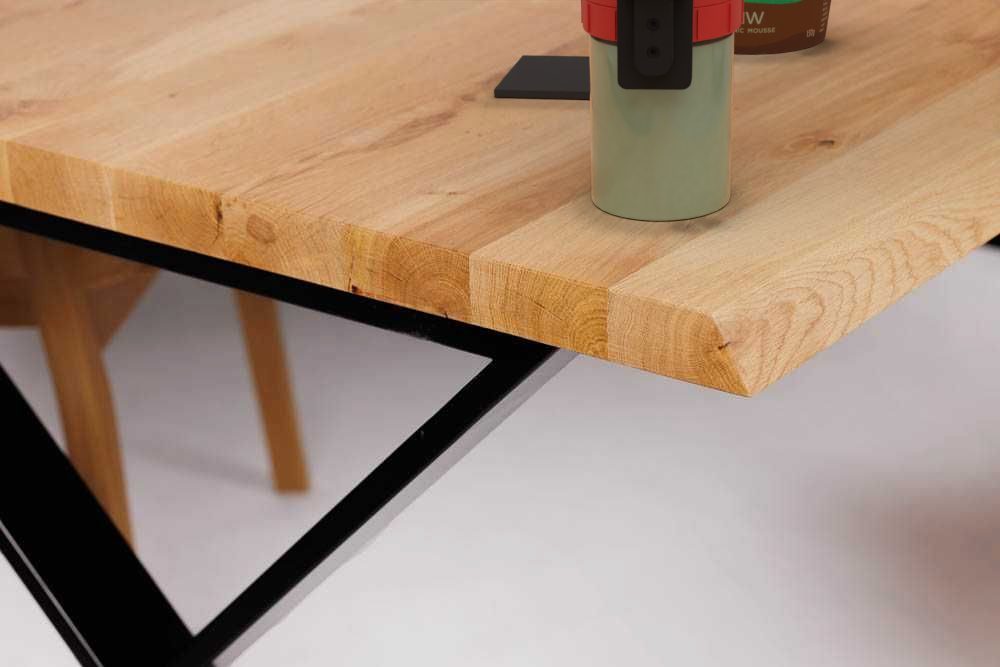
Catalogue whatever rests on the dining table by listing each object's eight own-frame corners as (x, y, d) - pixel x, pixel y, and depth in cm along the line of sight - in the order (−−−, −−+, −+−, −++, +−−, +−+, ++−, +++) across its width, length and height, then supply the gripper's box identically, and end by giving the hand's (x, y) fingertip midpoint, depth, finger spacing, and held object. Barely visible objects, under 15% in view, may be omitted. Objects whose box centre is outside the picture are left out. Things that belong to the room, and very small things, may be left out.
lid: (652, 53, 61) (652, 8, 60) (551, 25, 66) (550, -17, 66) (774, 25, 65) (776, -18, 64) (669, 0, 70) (669, -40, 69)
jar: (735, 176, 71) (741, -20, 67) (723, 224, 65) (728, 12, 61) (603, 172, 73) (601, -21, 69) (580, 218, 67) (576, 11, 63)
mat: (646, 64, 91) (646, 57, 91) (627, 100, 84) (627, 92, 84) (522, 62, 93) (522, 54, 93) (494, 97, 86) (493, 89, 86)
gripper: (753, -371, 50) (739, 120, 58) (759, -368, 66) (748, 20, 73) (541, -360, 52) (554, 119, 59) (596, -360, 67) (601, 20, 75)
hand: (661, 61), depth 66 cm, fingers closed on lid, 7 cm apart
